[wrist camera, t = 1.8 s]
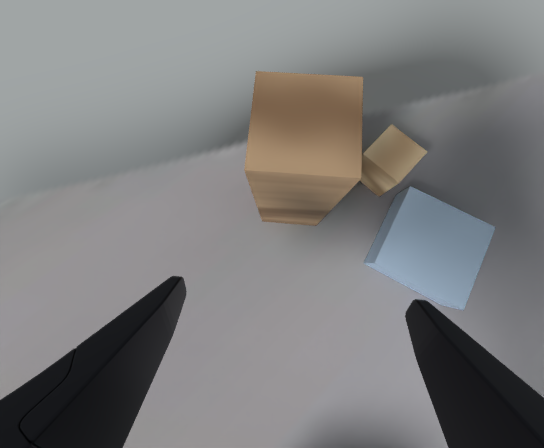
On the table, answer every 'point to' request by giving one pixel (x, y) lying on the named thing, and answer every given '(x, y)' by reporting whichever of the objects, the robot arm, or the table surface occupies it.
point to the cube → (389, 160)
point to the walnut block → (303, 144)
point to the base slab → (430, 247)
